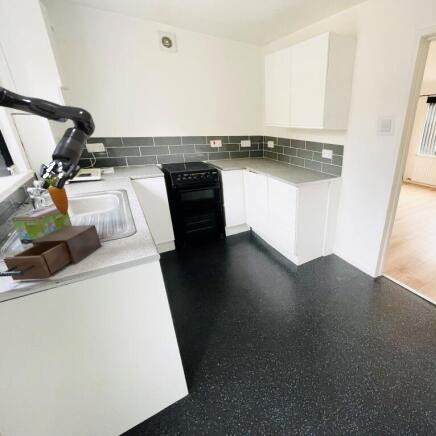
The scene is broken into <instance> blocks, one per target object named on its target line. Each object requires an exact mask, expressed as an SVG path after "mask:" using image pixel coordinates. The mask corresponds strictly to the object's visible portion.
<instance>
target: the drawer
mask: <svg viewBox="0 0 436 436" xmlns="http://www.w3.org/2000/svg"><path fill="white" fill-rule="evenodd" d="M2 260H3V262H4V264H5V266H6V268H7V269H6V270H4V271H0V278H1V277H11V279H12V281H25V280H26V281H27V280H46V279H49V278H51V277H52V276H51V274H53V273H55V272H57V271H58V270H59V269H61V268H62V267H64V266H65V265H68V264H67V263H69V262H70V261H72V260H71V257H70V254H69V251H68V249H67V246H66V243H65V242H59V243H38V244H36V245H34V246H32V247H30V248H28V249H26V250H24V249H23V250H22V251H20V252H18V253H16V254H14V255H13V256H6V257H4V258H2Z"/></svg>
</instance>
